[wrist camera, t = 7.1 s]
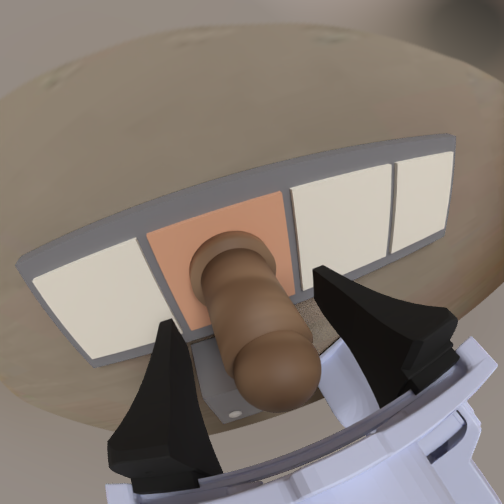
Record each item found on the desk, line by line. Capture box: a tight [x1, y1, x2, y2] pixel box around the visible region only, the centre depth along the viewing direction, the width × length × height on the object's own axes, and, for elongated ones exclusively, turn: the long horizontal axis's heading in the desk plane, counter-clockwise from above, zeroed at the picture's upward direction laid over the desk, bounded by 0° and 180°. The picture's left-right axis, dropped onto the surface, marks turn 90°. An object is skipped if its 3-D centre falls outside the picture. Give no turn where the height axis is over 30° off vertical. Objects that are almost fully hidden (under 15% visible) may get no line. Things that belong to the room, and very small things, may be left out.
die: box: [191, 337, 262, 424], centre depth 20 cm, size 5×5×5 cm
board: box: [15, 133, 456, 368], centre depth 17 cm, size 33×10×1 cm, turn 102°
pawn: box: [189, 231, 321, 413], centre depth 12 cm, size 5×5×9 cm
